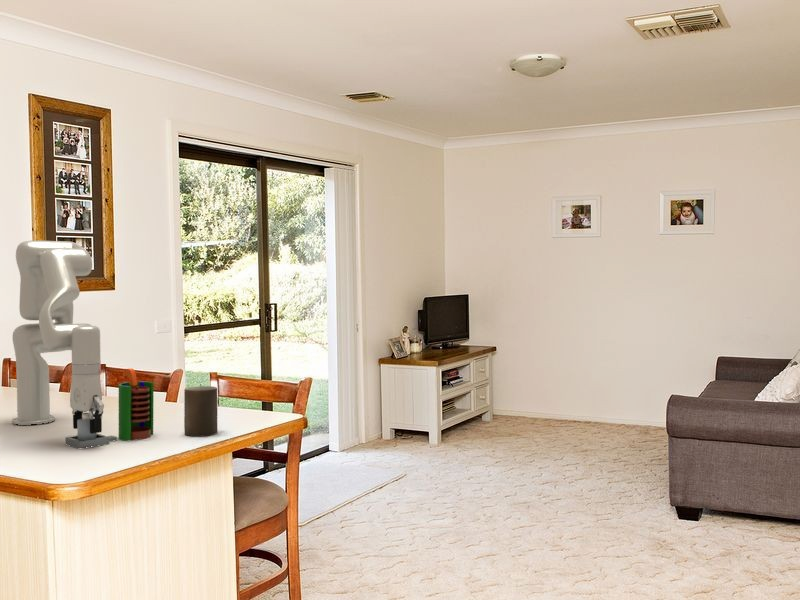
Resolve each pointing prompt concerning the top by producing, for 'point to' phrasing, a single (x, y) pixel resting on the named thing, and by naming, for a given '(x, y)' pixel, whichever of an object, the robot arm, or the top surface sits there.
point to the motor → (135, 408)
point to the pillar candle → (200, 411)
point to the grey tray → (89, 441)
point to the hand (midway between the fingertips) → (87, 430)
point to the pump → (85, 428)
